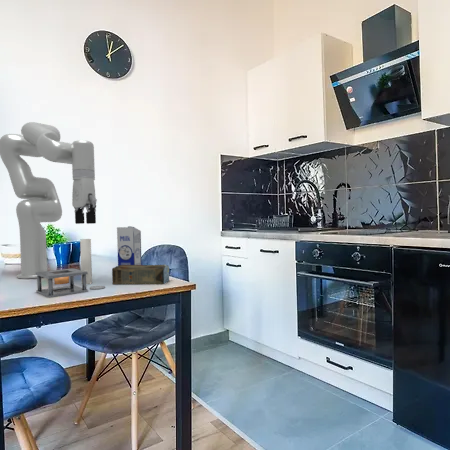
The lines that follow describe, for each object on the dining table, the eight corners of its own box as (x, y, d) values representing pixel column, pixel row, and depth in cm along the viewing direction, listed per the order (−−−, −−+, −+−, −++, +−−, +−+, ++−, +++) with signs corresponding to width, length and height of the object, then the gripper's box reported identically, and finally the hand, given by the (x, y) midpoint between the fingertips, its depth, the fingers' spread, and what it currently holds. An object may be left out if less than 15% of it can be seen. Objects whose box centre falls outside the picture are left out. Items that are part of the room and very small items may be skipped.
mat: (86, 288, 127) (86, 287, 127) (101, 286, 131) (101, 285, 131) (93, 290, 124) (93, 289, 124) (107, 288, 127) (107, 286, 127)
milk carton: (117, 278, 148) (116, 226, 147) (126, 275, 154) (125, 226, 154) (134, 278, 146) (133, 226, 145) (142, 275, 153) (141, 225, 152)
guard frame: (36, 292, 123) (35, 272, 123) (73, 286, 131) (72, 268, 131) (49, 297, 114) (48, 276, 114) (88, 291, 122) (87, 271, 122)
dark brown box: (164, 285, 132) (164, 266, 132) (111, 285, 134) (110, 266, 133) (169, 281, 140) (169, 263, 140) (119, 281, 141) (118, 263, 141)
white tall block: (79, 283, 137) (78, 239, 137) (89, 282, 140) (88, 238, 139) (84, 284, 135) (82, 239, 134) (93, 283, 137) (92, 239, 137)
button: (52, 283, 122) (52, 277, 122) (66, 281, 125) (65, 275, 125) (57, 284, 119) (57, 278, 119) (71, 283, 122) (71, 276, 122)
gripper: (64, 177, 140) (65, 224, 140) (83, 172, 127) (85, 223, 128) (84, 178, 145) (85, 223, 145) (104, 174, 132) (106, 223, 133)
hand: (85, 223), depth 136 cm, fingers open, 9 cm apart
